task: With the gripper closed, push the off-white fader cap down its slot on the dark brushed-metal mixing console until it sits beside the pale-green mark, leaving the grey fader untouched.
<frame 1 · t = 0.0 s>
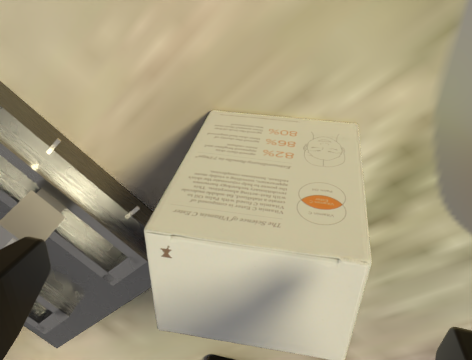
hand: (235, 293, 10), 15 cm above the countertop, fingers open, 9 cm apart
fader cap grey: (30, 222, 25), point 4 cm above the countertop, slide at 0.0 cm
console: (4, 206, 31), on the countertop
small box: (280, 156, 25), on the countertop
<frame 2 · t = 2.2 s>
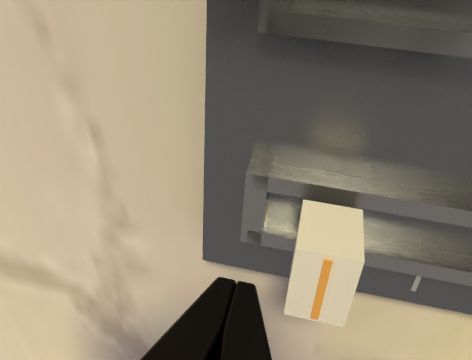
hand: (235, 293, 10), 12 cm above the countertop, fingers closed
console: (463, 134, 19), on the countertop
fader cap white: (324, 245, 18), point 4 cm above the countertop, slide at 5.0 cm
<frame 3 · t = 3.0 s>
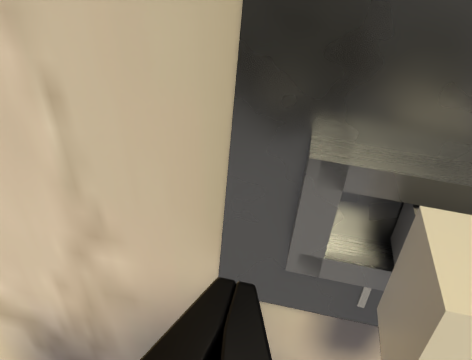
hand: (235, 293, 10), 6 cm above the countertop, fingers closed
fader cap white: (450, 288, 10), point 4 cm above the countertop, slide at 5.0 cm
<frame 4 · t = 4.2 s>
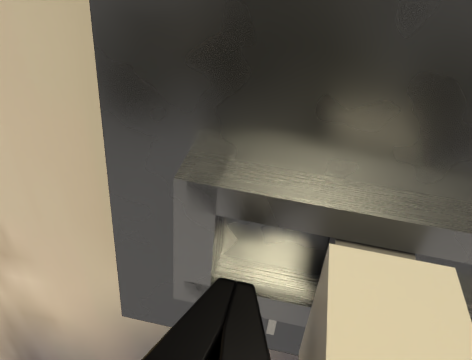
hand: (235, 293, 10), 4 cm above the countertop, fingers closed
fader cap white: (368, 335, 9), point 4 cm above the countertop, slide at 4.1 cm, touching gripper
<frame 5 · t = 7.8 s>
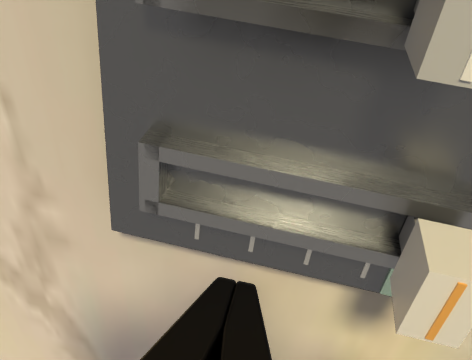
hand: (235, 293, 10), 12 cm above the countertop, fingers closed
fader cap grey: (466, 3, 13), point 4 cm above the countertop, slide at 0.0 cm
console: (344, 114, 20), on the countertop
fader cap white: (433, 265, 18), point 4 cm above the countertop, slide at -4.7 cm
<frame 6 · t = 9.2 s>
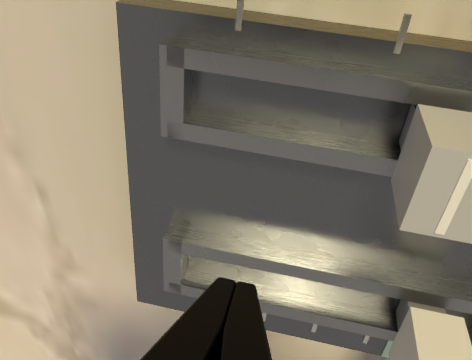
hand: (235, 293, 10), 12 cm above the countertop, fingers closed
fader cap grey: (440, 157, 15), point 4 cm above the countertop, slide at 0.0 cm
console: (344, 208, 22), on the countertop
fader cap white: (425, 345, 21), point 4 cm above the countertop, slide at -4.7 cm
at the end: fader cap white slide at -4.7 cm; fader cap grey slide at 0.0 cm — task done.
